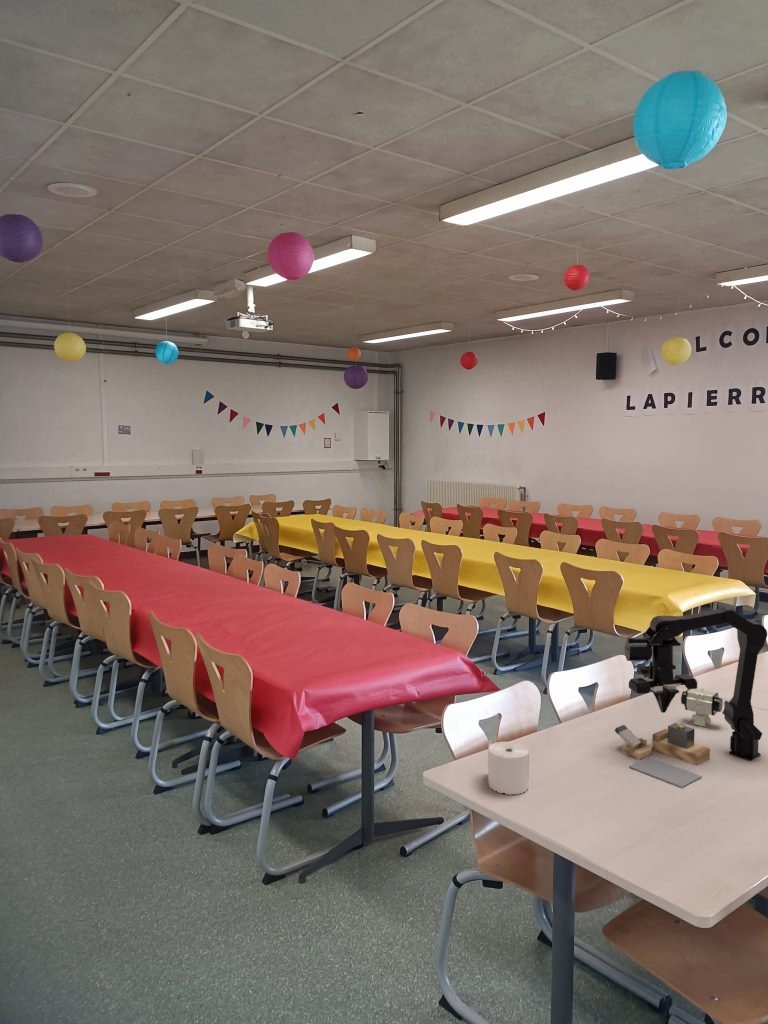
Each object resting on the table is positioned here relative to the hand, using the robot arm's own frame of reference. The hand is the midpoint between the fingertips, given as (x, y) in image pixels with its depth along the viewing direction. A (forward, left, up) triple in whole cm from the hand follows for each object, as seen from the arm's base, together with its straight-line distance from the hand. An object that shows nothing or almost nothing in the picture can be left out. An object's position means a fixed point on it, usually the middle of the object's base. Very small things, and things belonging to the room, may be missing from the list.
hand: (663, 712), depth 211 cm
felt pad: (-8, +11, -12) cm, 18 cm away
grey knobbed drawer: (-4, -4, -9) cm, 11 cm away
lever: (+4, +6, -10) cm, 12 cm away
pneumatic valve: (+4, -30, -13) cm, 33 cm away
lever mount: (+4, +6, -12) cm, 15 cm away
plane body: (-4, -4, -12) cm, 13 cm away
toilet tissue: (+14, +51, -13) cm, 55 cm away
